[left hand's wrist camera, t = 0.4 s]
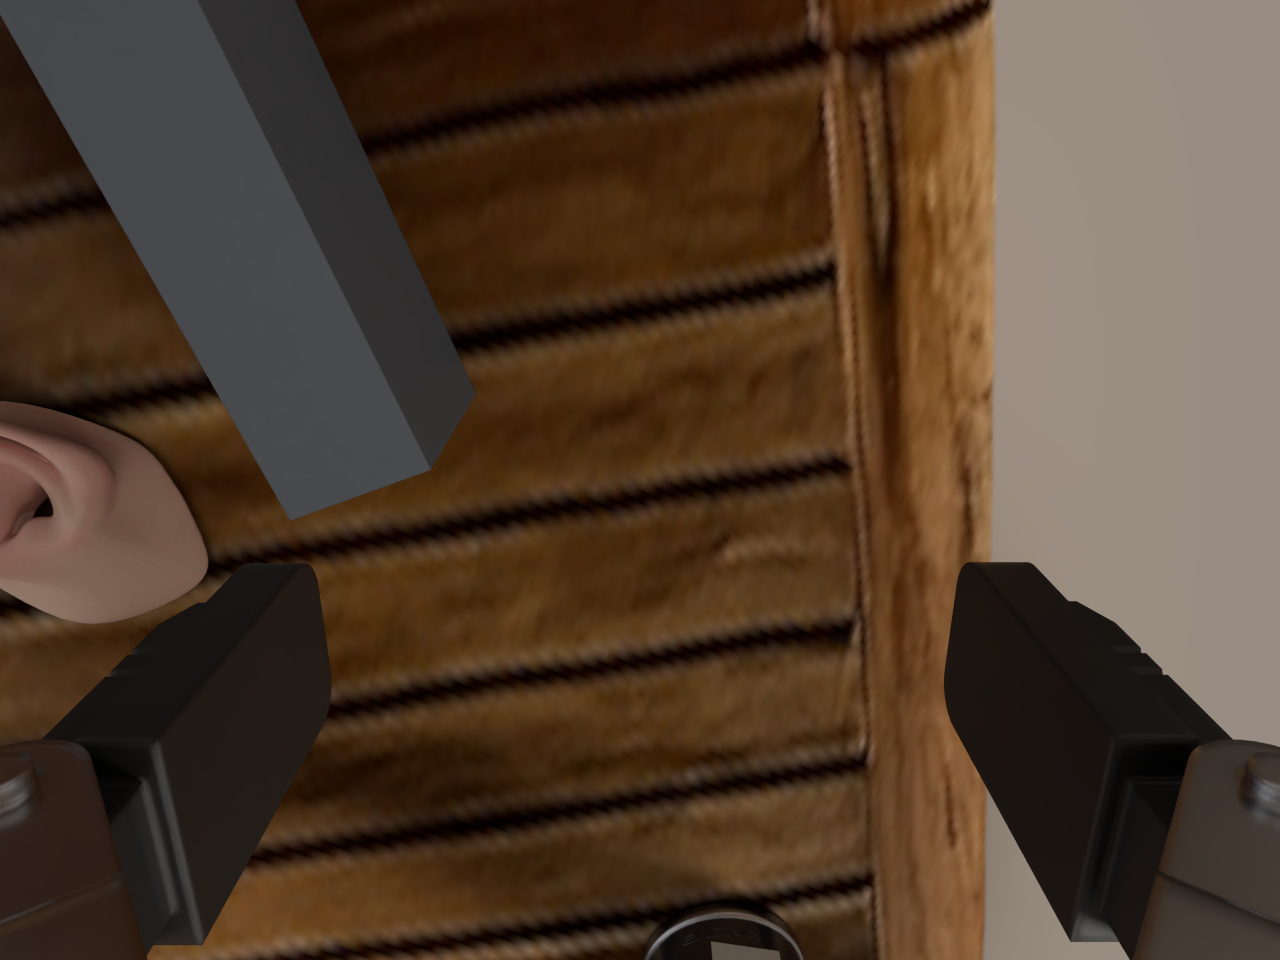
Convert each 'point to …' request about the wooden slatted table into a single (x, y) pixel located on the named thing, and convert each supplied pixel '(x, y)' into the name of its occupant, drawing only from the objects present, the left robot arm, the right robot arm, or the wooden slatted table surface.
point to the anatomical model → (89, 520)
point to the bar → (258, 230)
